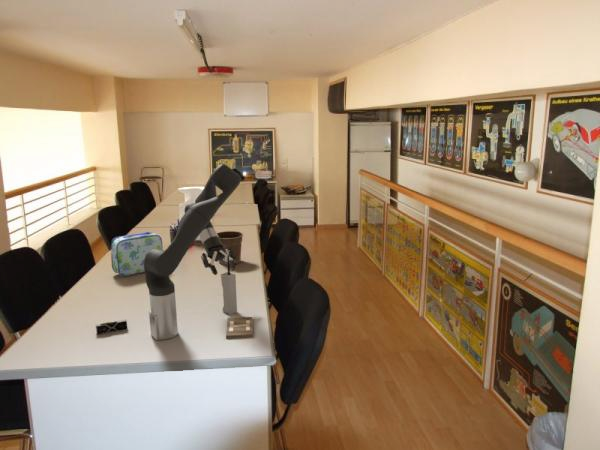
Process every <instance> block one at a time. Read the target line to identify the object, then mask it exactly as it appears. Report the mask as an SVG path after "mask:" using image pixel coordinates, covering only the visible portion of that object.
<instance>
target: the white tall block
mask: <svg viewBox="0 0 600 450" xmlns="http://www.w3.org/2000/svg"><path fill="white" fill-rule="evenodd" d="M204 187H205V186H188V187H187V186H185V187H179V188H177V192H179V193H182V194H184V202H181V203H179V204H178V212H179V213H178V214H179V221H180V220H181V218H182V217H183V215H184V214H185V207H186V205H188V204H192V203H195V201H196V199H197V197H198V196H199V195H200V194H201V192H202V191H203V189H204ZM212 220H213V218H212V219H211V220H210V221H211V223H212V222H213V221H212ZM212 224H213V223H212ZM195 241H201V239H200V236H198V237H197V238H196V240H195Z"/></svg>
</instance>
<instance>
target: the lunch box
mask: <svg viewBox="0 0 600 450" xmlns="http://www.w3.org/2000/svg"><path fill="white" fill-rule="evenodd" d="M110 246H111V248H110V249H111V250H110V251H111V252H110V255H111V256H110V257H111V258H110V259H111V267H112V271H113V273H115V274H118V275H120V276H121V277H129V276H132V275H137V274H141V273H145V271H144V259H145V256H146V254H147V253H148V252H149V251H150V250H152V249H160V250H164V249H163V248H164V247H163V239H162V236H160V235H159V234H157V233H154V232H149V231H145V232H141V233H135V234H126V235H119V236H115V237H114V238H112V239H111V243H110Z"/></svg>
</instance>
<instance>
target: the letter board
mask: <svg viewBox="0 0 600 450" xmlns="http://www.w3.org/2000/svg"><path fill="white" fill-rule="evenodd" d="M226 321H227V322H226V332H225V339H239V338H240V339H242V338H254V333H253V332H254V330H253V329H254V326H253V323H254V322H253V316H243V317H242V316H241V317H227V320H226Z"/></svg>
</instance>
